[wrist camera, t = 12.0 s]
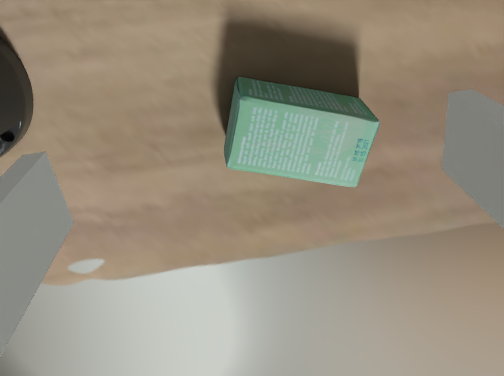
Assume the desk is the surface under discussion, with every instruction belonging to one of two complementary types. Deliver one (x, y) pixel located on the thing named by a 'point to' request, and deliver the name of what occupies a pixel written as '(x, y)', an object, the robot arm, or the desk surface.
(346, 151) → the box
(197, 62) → the desk surface
